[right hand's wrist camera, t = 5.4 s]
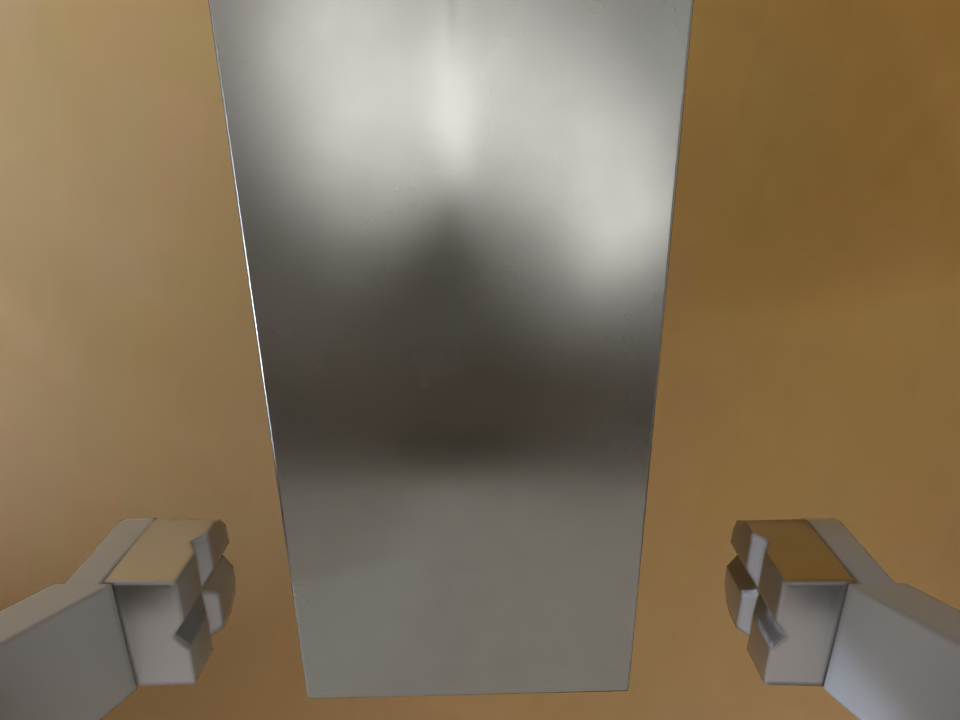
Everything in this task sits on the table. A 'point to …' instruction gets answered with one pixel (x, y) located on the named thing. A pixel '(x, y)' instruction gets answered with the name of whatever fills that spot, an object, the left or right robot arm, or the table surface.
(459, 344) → the bar
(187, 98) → the table surface
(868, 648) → the right robot arm
